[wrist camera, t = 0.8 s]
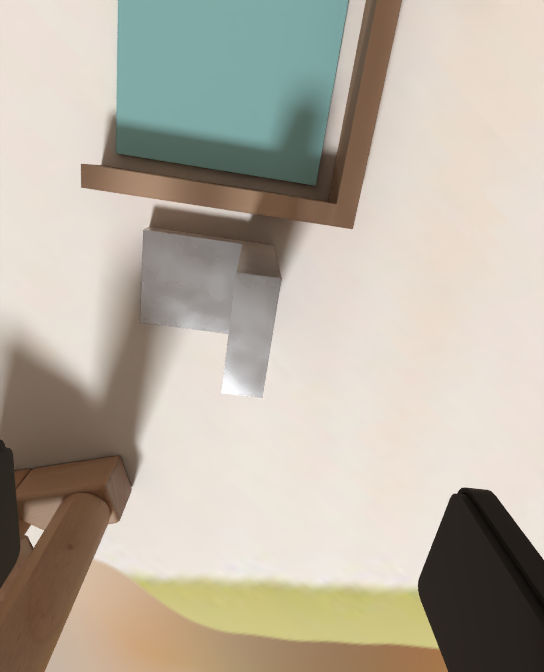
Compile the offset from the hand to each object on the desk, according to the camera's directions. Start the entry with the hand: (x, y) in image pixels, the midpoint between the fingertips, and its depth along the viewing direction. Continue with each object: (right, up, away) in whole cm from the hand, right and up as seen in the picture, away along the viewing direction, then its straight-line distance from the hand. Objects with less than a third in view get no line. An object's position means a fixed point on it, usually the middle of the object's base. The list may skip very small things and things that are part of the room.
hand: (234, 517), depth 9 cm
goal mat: (-1, +20, +14) cm, 25 cm away
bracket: (-4, +8, +19) cm, 21 cm away
